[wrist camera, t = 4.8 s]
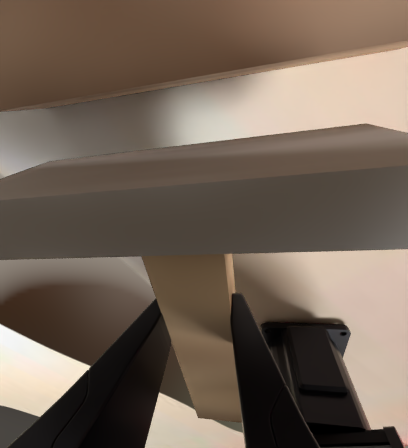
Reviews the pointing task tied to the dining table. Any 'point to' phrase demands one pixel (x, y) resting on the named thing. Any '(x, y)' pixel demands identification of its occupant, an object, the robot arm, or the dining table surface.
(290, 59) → the board
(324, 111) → the dining table surface
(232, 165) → the scraper
